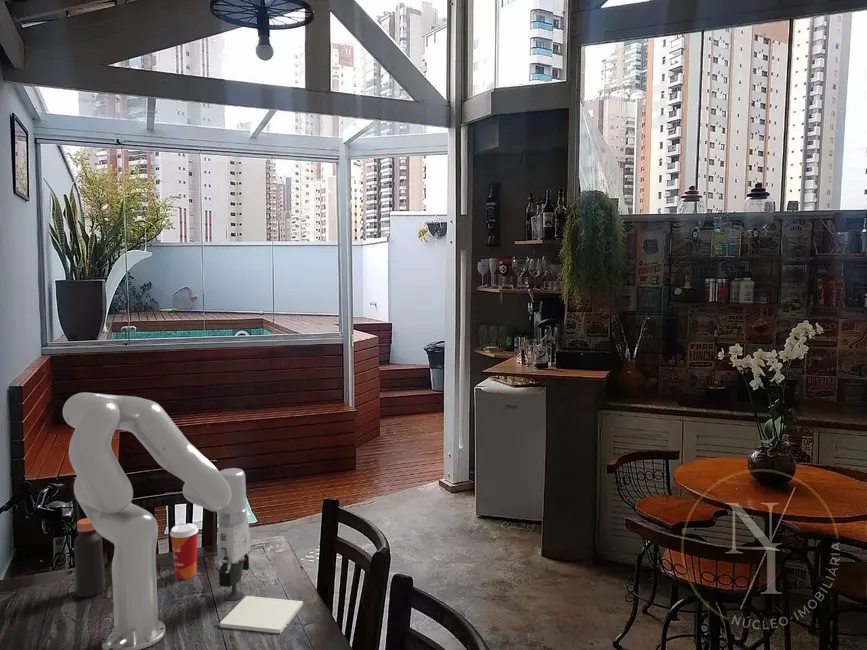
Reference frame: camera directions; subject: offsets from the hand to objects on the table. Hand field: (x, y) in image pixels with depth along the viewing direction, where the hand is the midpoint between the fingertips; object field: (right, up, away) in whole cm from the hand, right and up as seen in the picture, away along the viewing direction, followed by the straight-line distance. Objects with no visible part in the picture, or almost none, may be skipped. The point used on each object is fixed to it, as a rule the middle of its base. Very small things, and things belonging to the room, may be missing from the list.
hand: (234, 577), depth 178 cm
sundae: (0, -5, 0) cm, 5 cm away
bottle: (-40, -5, +3) cm, 41 cm away
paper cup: (-18, -4, +13) cm, 23 cm away
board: (+10, -6, -10) cm, 15 cm away
